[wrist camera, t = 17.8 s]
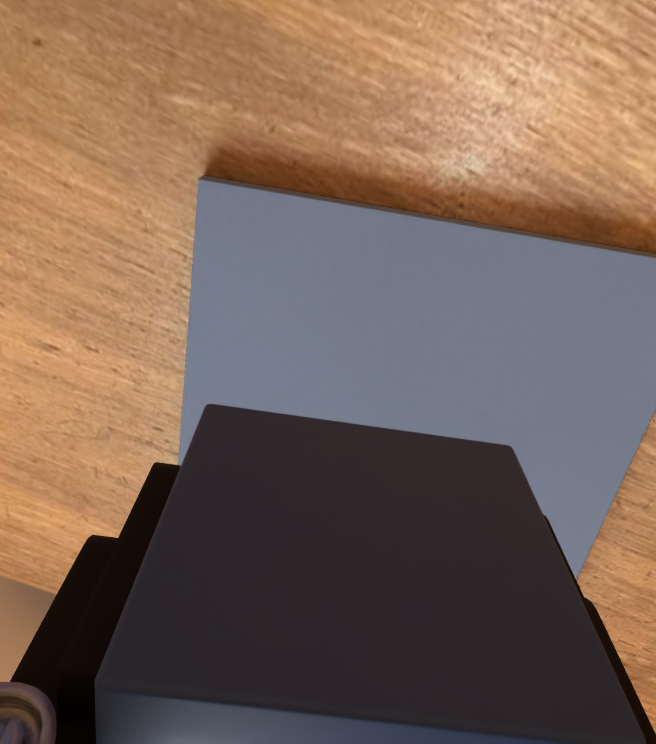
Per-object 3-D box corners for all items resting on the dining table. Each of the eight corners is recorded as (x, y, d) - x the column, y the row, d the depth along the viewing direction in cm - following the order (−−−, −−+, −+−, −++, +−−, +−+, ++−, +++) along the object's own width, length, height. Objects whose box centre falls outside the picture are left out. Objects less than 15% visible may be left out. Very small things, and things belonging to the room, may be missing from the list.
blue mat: (173, 571, 32) (169, 583, 31) (202, 175, 23) (198, 178, 22) (547, 621, 33) (551, 633, 32) (710, 262, 24) (721, 268, 24)
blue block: (189, 623, 12) (98, 959, 7) (205, 399, 10) (91, 682, 5) (442, 654, 12) (501, 996, 8) (513, 442, 10) (654, 748, 5)
